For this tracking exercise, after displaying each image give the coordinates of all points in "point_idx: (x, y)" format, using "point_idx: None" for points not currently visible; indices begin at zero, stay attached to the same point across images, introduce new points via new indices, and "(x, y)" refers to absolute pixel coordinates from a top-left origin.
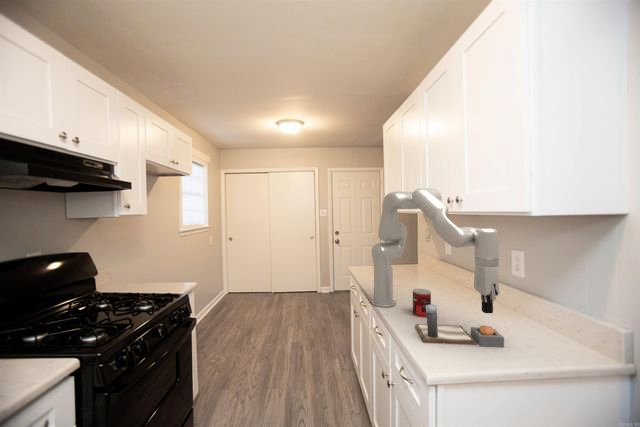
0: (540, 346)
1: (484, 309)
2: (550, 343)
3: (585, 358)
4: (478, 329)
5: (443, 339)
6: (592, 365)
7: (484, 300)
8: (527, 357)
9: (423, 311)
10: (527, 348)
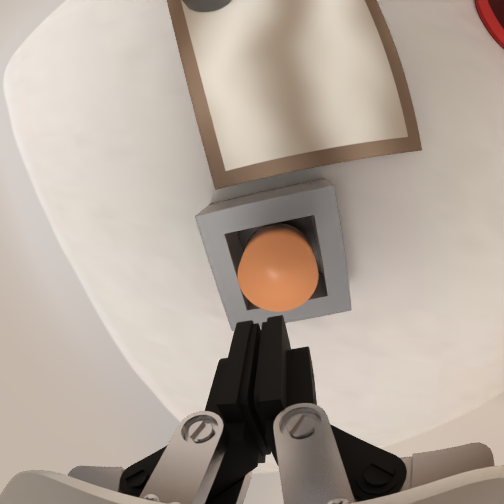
0: None
1: (236, 347)
2: None
3: None
4: (316, 228)
5: (184, 37)
6: None
7: (209, 431)
8: (182, 351)
9: (491, 4)
10: None
